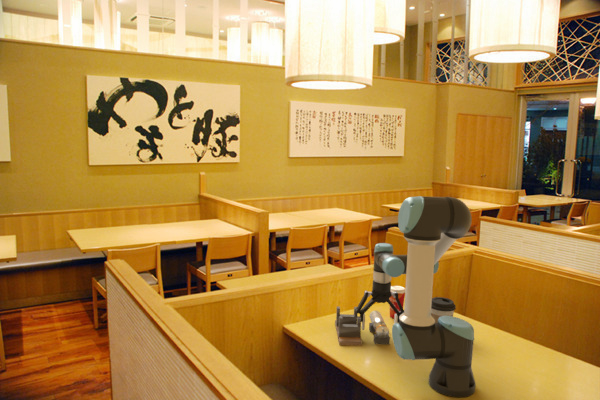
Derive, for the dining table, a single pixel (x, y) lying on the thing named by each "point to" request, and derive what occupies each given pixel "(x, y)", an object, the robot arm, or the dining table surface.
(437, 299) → the coffee cup
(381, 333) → the silver metal cylinder
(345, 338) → the dark grey notched piece
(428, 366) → the dining table surface
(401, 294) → the paper cup
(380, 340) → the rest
